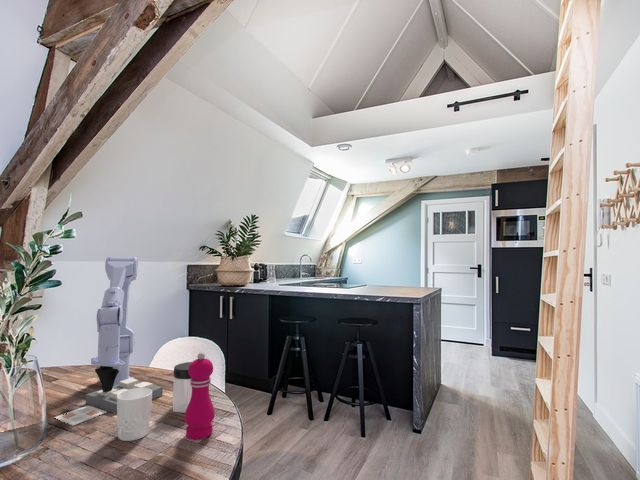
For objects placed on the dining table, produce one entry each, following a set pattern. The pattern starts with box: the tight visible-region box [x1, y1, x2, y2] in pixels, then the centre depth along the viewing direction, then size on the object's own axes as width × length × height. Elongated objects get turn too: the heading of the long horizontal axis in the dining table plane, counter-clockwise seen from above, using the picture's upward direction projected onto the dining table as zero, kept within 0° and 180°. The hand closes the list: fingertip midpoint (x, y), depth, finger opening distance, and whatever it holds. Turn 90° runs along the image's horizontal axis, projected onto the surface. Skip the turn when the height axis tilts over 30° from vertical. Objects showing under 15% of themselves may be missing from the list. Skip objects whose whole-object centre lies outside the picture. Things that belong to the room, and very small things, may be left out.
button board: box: [85, 380, 164, 414], centre depth 111 cm, size 15×15×3 cm
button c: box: [111, 389, 128, 400], centre depth 106 cm, size 4×4×2 cm
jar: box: [172, 361, 193, 414], centre depth 106 cm, size 9×8×12 cm
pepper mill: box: [184, 352, 216, 440], centre depth 90 cm, size 7×7×20 cm
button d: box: [133, 381, 154, 389], centre depth 113 cm, size 4×4×2 cm
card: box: [53, 404, 108, 426], centre depth 99 cm, size 9×9×1 cm
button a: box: [97, 388, 118, 396], centre depth 110 cm, size 4×4×2 cm
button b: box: [119, 377, 139, 389], centre depth 116 cm, size 4×4×2 cm
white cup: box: [116, 388, 153, 442], centre depth 89 cm, size 8×8×10 cm
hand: (107, 391), depth 110 cm, fingers closed, pressing on button a
